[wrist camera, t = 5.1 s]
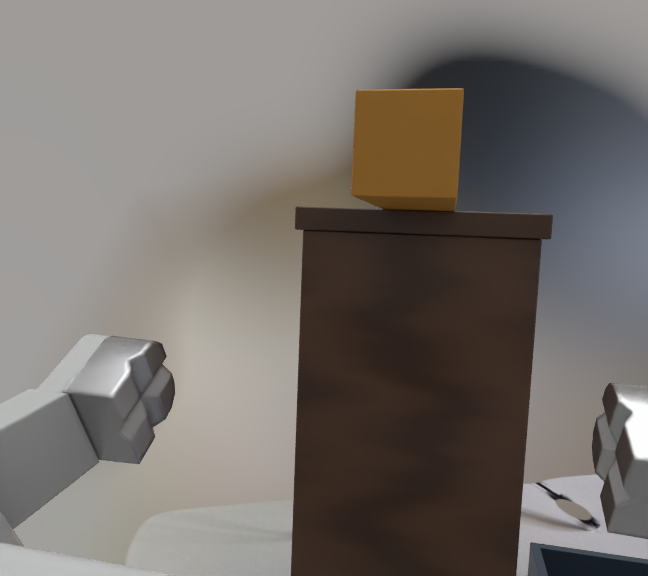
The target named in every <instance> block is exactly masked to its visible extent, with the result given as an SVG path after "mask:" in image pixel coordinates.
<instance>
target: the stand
mask: <svg viewBox="0 0 648 576" xmlns="http://www.w3.org/2000/svg"><path fill="white" fill-rule="evenodd" d="M552 221H553V215H552V214H531V213H530V214H529V213H528V214H527V213H498V212H497V213H496V212H465V211H464V212H463V211H431V210H398V209H365V208H332V207H331V208H330V207H299V206H297V207H296V213H295V229H297V230H304V231H303V252H302V280H301V308H300V336H299V364H298V393H297V420H296V421H297V422H296V447H295V475H294V503H293V531H292V559H291V576H516V569H517V556H518V543H519V530H520V517H521V504H522V491H523V478H524V464H525V452H526V439H527V426H528V413H529V399H530V387H531V374H532V359H533V348H534V335H535V322H536V308H537V296H538V283H539V270H540V257H541V244H542V241H541V239H551V234H552Z"/></svg>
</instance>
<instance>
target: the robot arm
mask: <svg viewBox="0 0 648 576" xmlns="http://www.w3.org/2000/svg"><path fill="white" fill-rule="evenodd" d="M165 358H166V354H165V351H164V348H163V345H162V344H161V343H159V342H156V341H151V340H142V339H134V338H125V337H116V336H103V335H95V334H89V335H86V336H84V337H82V338H81V339H80V340H79V341H78V343H77V344H76V345H75V346H74V347H73V348H72V350H71V351H70V352H69V353H68V354H67V355H66V357H65V358H64V359H63V360H62V361H61V362H60V363H59V364H58V366H57V367H56V368H55V369H54V370H53V371H52V373H51V374H50V375H49V376H48V377H47V379H46V380H45V381H44V382H43V383H42V384H41V385H40V386H39V387H38V389H37V390H35V389H29V390H27V391H25V392H23V393H21V394H19V395H17V396H15V397H13V398H11V399H9V400H7V401H5V402H3V403H1V404H0V576H176V575H171V574H166V573H160V572H155V571H150V570H144V569H139V568H134V567H129V566H123V565H118V564H113V563H107V562H102V561H97V560H91V559H86V558H81V557H75V556H70V555H65V554H60V553H54V552H49V551H44V550H38V549H33V548H27V547H24V545H23V544H22V542H21V541H20V539H19V538H18V536H17V535H16V534H15V532H14V531H13V529H14V528H15V527H17V526H18V525H19V524H20V523H22V522H23V521H25V520H26V519H27V518H28V517H29V516H31V515H32V514H33V513H35V512H36V511H37V510H39V509H40V508H41V507H42V506H44V505H45V504H46V503H48V502H49V501H50V500H51V499H53V498H54V497H55V496H57V495H58V494H59V493H60V492H62V491H63V490H64V489H66V488H67V487H68V486H69V485H71V484H72V483H73V482H75V481H76V480H77V479H78V478H80V477H81V476H82V475H84V474H85V473H86V472H87V471H89V470H90V469H91V468H93V467H94V466H95V465H96V464H98V463H99V460H106V461H115V462H123V463H133V464H140V462H141V460H142V459H143V457H144V455H145V453H146V452H147V450H148V448H149V447H150V445H151V443H152V442H153V440H154V438H155V434H154V430H153V427H154V426H156V425H157V424H159V423H160V422H162V421H163V420H165V419H166V417H167V415H168V413H169V412H170V410H171V408H172V404H173V400H174V395H175V385H174V379H173V376H172V373H171V372H170V371H169V370H168V369H167V368H166V367H165V366H164V365H163V364H162V363H163V362H164V360H165ZM602 400H603V405H604V409H605V413H604V414H602V415H600V416H599V417H598V418H597V419H596V423H595V427H594V431H593V442H592V453H593V462H594V468H595V473H596V474H597V475H598V476H599V477H600V478H601V479H602V480H603V481H604V485H603V489H602V492H601V495H600V498H601V503H602V507H603V512H604V517H605V522H606V526H607V531H608V532H609V533H615V534H621V535H627V536H633V537H639V538H645V539H648V386H640V385H629V384H617V383H609V384H608V386H607V387H606V389H605V392H604V395H603V399H602Z"/></svg>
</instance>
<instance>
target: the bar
mask: <svg viewBox="0 0 648 576" xmlns="http://www.w3.org/2000/svg"><path fill="white" fill-rule="evenodd" d="M463 94H464V90H463V89H462V88H455V89H454V88H451V89H384V90H357V91H356V99H355V122H354V145H353V168H352V190H351V195H352V196H354V197H356V198H359V199H361V200H363V201H366V202H368V203H371V204H373V205H375V206H378V207H380V208H382V209H398V210H431V211H455V207H456V201H457V192H458V175H459V159H460V144H461V143H460V142H461V127H462V111H463Z"/></svg>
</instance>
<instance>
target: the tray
mask: <svg viewBox="0 0 648 576" xmlns="http://www.w3.org/2000/svg"><path fill="white" fill-rule="evenodd" d="M528 576H648V560H647V559H640V558H634V557H627V556H620V555H613V554H606V553H600V552H593V551H586V550H579V549H573V548H566V547H559V546H552V545H545V544H538V543H532V542H531V543H530V554H529V567H528Z"/></svg>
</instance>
